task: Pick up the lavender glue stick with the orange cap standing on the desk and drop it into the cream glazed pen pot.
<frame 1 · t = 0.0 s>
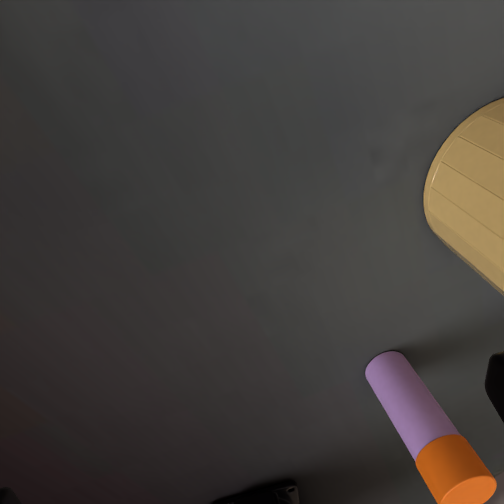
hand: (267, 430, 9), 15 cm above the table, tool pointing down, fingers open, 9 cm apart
pen pot: (498, 177, 26), on the table
glue stick: (385, 367, 31), on the table
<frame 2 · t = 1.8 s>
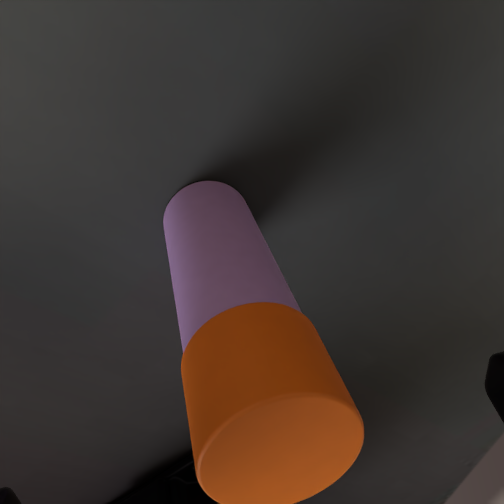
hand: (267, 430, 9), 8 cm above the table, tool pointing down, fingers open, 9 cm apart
glue stick: (206, 220, 16), on the table
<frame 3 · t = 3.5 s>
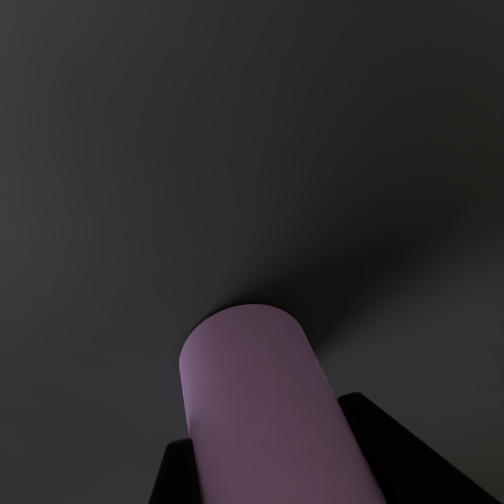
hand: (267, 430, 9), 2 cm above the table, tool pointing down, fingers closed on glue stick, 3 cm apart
glue stick: (243, 354, 11), on the table, touching gripper
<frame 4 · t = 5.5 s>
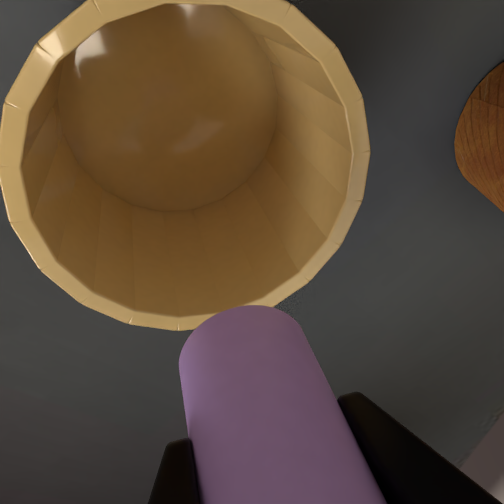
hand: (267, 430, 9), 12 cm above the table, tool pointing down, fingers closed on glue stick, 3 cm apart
pen pot: (171, 108, 18), on the table
glue stick: (243, 355, 11), point 10 cm above the table, touching gripper
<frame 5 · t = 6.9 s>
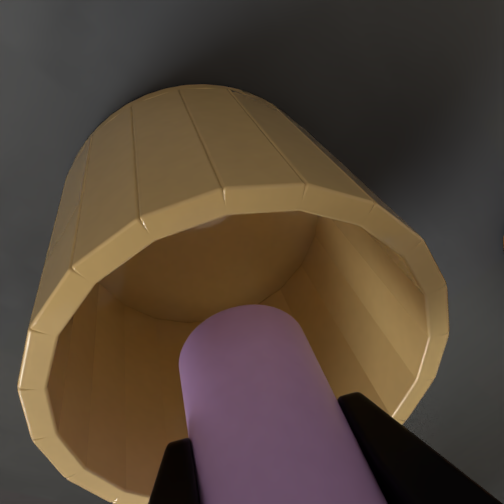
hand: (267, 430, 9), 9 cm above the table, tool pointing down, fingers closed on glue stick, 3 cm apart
pen pot: (201, 218, 16), on the table
glue stick: (243, 355, 10), point 7 cm above the table, touching gripper
when the fingers open (7 cm above the table, at t = 8.2 s): glue stick stays where it is, resting on pen pot.
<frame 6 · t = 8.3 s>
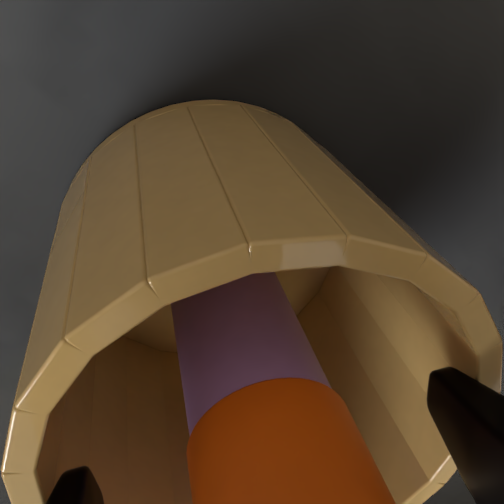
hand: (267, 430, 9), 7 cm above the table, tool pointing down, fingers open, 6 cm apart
pen pot: (210, 243, 15), on the table
glue stick: (212, 254, 14), point 1 cm above the table, touching pen pot
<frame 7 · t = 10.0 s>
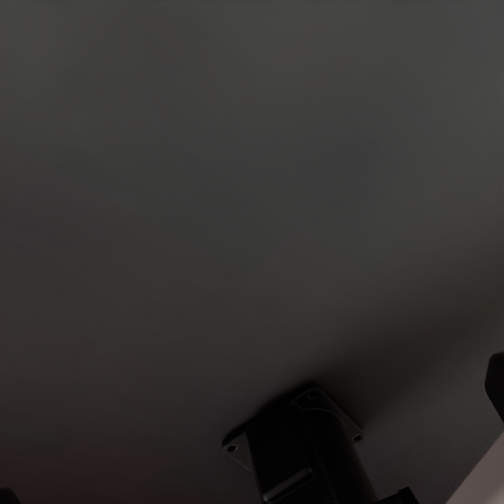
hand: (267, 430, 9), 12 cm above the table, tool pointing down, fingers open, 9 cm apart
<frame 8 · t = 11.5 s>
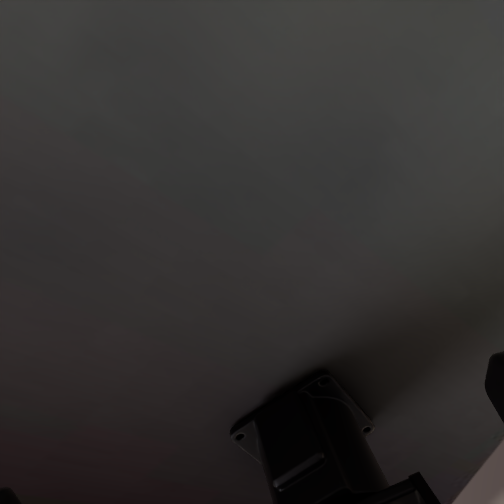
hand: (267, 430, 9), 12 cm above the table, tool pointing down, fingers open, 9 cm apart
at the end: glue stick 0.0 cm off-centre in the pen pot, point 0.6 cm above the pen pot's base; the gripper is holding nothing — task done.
